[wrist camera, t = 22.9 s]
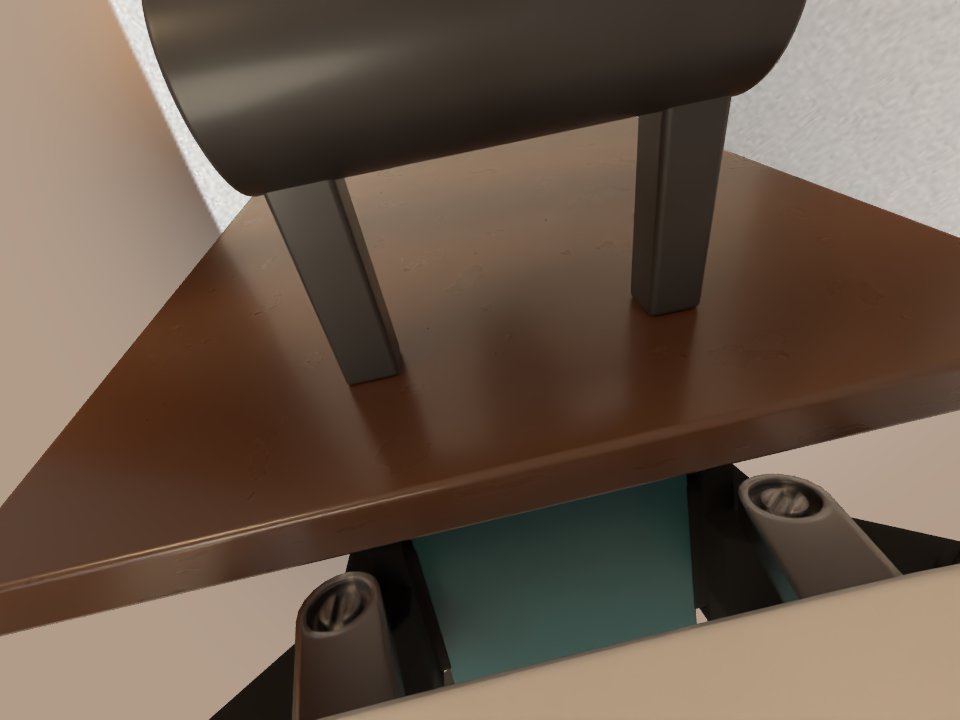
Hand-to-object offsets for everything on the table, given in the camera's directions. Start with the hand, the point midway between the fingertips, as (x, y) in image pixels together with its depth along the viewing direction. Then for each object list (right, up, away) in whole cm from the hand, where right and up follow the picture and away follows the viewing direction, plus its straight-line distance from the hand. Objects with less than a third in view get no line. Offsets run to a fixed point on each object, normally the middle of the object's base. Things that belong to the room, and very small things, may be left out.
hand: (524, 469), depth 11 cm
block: (0, 0, +1) cm, 1 cm away
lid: (-1, +5, -1) cm, 6 cm away
